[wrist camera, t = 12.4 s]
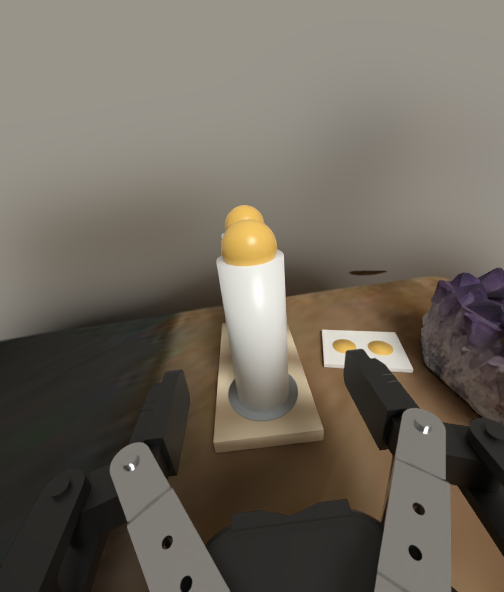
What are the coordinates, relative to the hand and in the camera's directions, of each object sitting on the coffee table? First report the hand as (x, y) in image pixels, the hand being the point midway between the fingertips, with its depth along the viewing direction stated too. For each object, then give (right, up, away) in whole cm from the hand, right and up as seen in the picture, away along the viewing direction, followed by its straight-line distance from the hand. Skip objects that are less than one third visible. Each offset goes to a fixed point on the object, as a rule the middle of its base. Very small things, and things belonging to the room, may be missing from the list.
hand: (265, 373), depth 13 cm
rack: (0, -4, +14) cm, 14 cm away
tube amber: (0, -4, +10) cm, 11 cm away
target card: (+11, -2, +15) cm, 19 cm away
